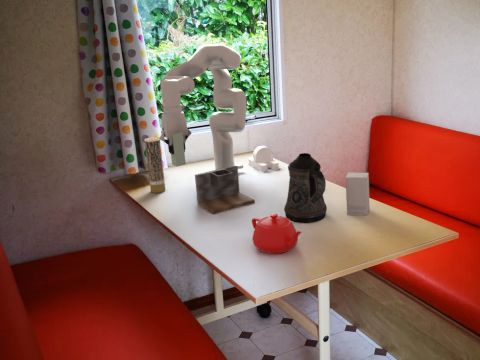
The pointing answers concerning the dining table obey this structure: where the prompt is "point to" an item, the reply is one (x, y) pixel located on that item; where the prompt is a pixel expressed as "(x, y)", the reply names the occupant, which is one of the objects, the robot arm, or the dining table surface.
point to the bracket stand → (220, 190)
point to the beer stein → (305, 191)
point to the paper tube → (155, 164)
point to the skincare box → (357, 193)
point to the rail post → (178, 150)
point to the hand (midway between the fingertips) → (177, 152)
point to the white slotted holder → (263, 159)
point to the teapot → (274, 234)
